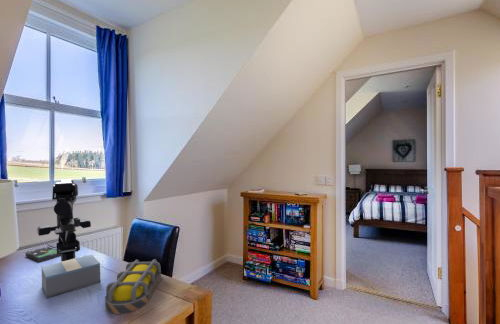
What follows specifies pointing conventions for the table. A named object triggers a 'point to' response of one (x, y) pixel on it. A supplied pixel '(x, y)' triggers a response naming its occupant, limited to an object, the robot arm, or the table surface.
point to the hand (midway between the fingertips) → (65, 246)
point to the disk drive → (42, 254)
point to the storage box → (70, 281)
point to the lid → (69, 266)
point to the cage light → (133, 287)
